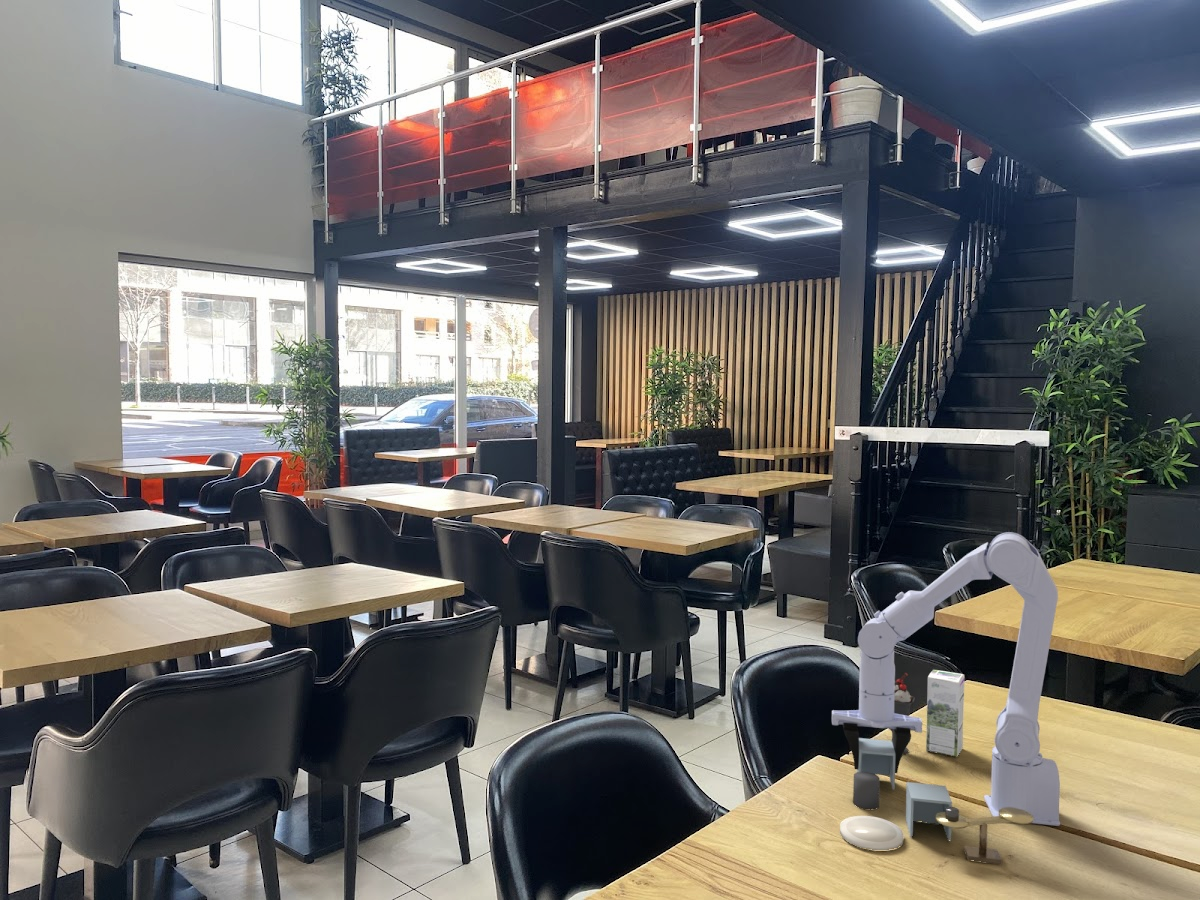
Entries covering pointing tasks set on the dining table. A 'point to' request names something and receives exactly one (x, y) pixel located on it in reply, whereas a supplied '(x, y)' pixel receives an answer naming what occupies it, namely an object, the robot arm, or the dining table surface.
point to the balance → (983, 829)
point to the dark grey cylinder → (866, 790)
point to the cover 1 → (877, 758)
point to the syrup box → (945, 712)
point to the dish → (871, 833)
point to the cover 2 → (926, 804)
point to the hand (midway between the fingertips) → (875, 769)
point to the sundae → (902, 701)
